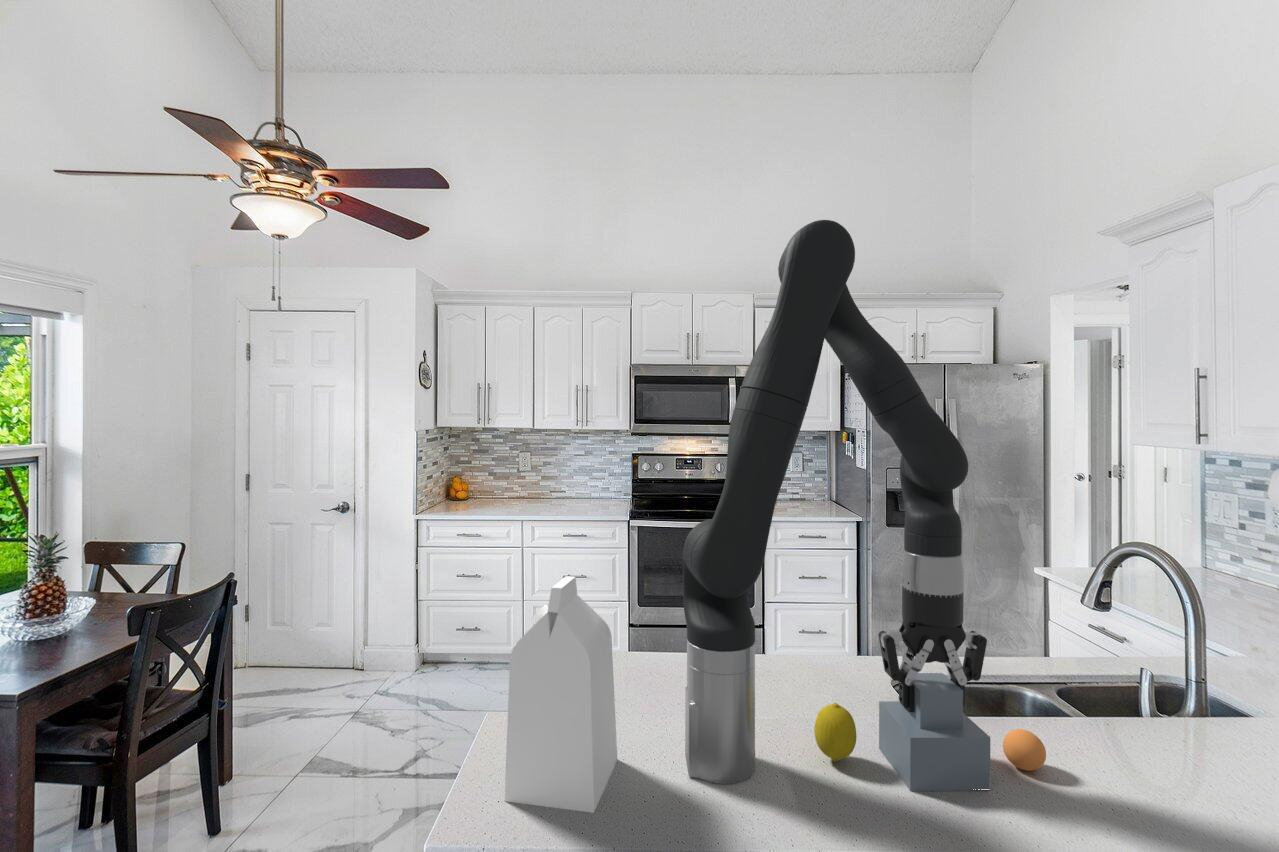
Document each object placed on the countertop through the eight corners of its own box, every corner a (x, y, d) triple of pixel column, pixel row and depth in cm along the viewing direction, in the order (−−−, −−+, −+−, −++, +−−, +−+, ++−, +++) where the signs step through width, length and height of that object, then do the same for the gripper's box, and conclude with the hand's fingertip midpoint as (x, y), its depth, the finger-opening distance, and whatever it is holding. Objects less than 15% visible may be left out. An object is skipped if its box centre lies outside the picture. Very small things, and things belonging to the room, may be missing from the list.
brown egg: (1016, 778, 82) (1017, 740, 82) (994, 758, 87) (995, 722, 87) (1054, 778, 82) (1055, 740, 82) (1030, 757, 87) (1030, 722, 87)
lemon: (859, 774, 83) (859, 714, 83) (815, 769, 84) (816, 710, 84) (853, 752, 89) (853, 696, 89) (813, 748, 90) (813, 693, 90)
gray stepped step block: (910, 790, 80) (910, 698, 79) (878, 748, 90) (879, 666, 90) (990, 790, 80) (990, 698, 79) (949, 748, 90) (950, 666, 90)
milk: (594, 812, 75) (593, 597, 75) (504, 801, 78) (503, 592, 77) (617, 759, 87) (617, 573, 87) (539, 750, 89) (538, 569, 89)
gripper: (890, 593, 81) (889, 723, 81) (1001, 593, 81) (1000, 723, 81) (868, 578, 88) (868, 697, 88) (970, 578, 88) (969, 697, 88)
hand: (931, 709), depth 85 cm, fingers closed on gray stepped step block, 5 cm apart
